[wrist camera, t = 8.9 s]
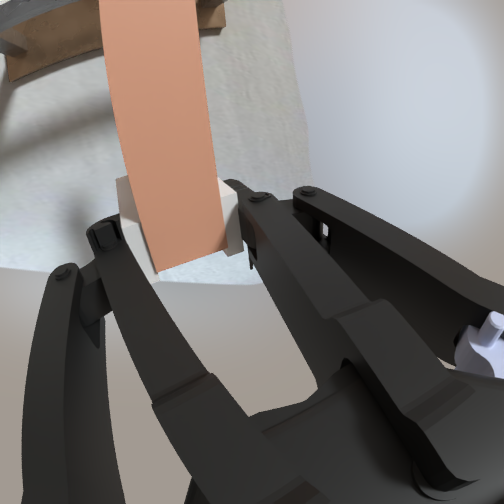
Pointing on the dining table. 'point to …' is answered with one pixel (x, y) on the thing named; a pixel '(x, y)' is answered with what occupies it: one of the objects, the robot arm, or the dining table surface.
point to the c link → (164, 125)
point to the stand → (65, 30)
